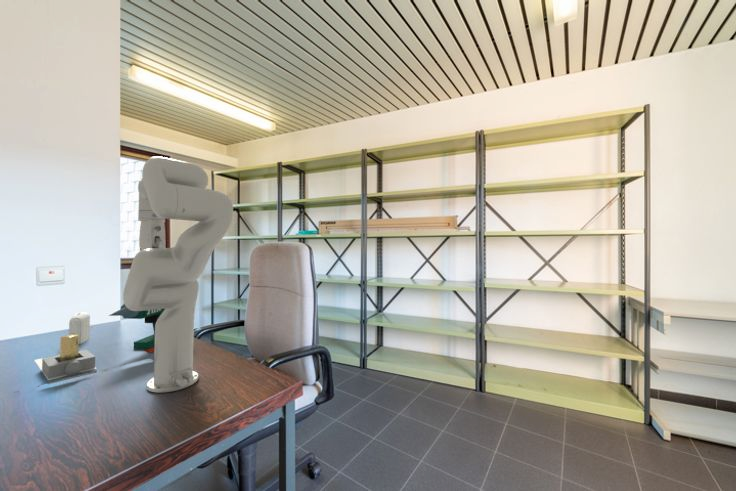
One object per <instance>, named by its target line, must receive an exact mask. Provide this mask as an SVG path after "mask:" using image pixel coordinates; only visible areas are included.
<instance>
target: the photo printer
mask: <svg viewBox="0 0 736 491" xmlns="http://www.w3.org/2000/svg"><path fill="white" fill-rule="evenodd" d="M90 326H91V316H90V313H88V312H87V311H80V312H77V313H75V314H74V315H72V317H71V318H70V320H69V323H68V335H79V345H81V344H84V343H85V342H87V341H89V340H90V334H91V333H90V330H91V329H90V328H91V327H90Z"/></svg>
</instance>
